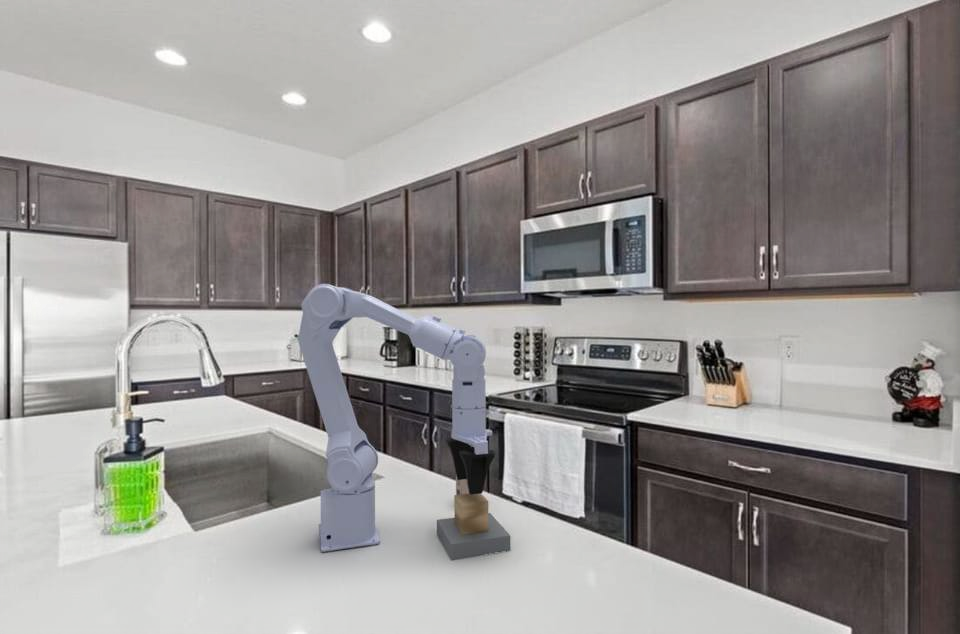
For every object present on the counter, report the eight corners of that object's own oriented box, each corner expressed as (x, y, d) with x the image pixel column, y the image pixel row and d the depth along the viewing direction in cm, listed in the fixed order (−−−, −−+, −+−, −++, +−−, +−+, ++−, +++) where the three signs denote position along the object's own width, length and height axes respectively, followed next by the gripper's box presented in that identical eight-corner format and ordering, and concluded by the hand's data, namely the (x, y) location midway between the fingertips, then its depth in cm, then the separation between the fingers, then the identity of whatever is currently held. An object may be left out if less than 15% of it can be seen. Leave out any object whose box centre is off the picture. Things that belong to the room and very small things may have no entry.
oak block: (462, 535, 80) (461, 504, 80) (454, 524, 85) (454, 495, 85) (488, 531, 82) (488, 501, 82) (479, 520, 86) (479, 491, 86)
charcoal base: (451, 563, 77) (451, 544, 77) (436, 536, 86) (436, 519, 86) (510, 554, 80) (510, 535, 80) (490, 529, 90) (490, 512, 90)
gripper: (505, 412, 78) (506, 497, 78) (478, 398, 92) (478, 471, 92) (463, 415, 76) (463, 502, 76) (441, 400, 90) (442, 474, 90)
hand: (469, 485), depth 84 cm, fingers open, 7 cm apart
